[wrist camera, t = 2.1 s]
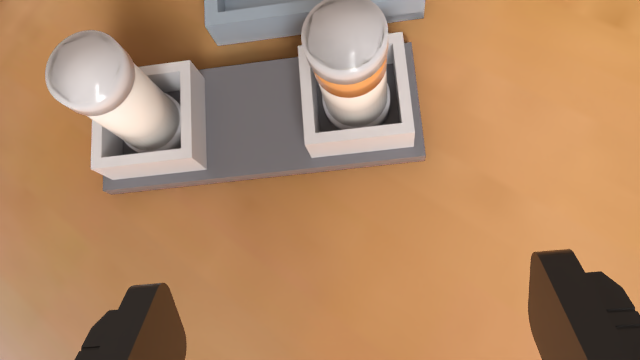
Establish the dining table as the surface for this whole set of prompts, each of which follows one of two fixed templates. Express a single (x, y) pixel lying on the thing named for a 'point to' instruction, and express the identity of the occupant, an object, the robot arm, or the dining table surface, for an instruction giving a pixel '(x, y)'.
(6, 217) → the dining table surface
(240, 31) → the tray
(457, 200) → the dining table surface
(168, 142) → the fuse
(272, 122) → the fuse holder
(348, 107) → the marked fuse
